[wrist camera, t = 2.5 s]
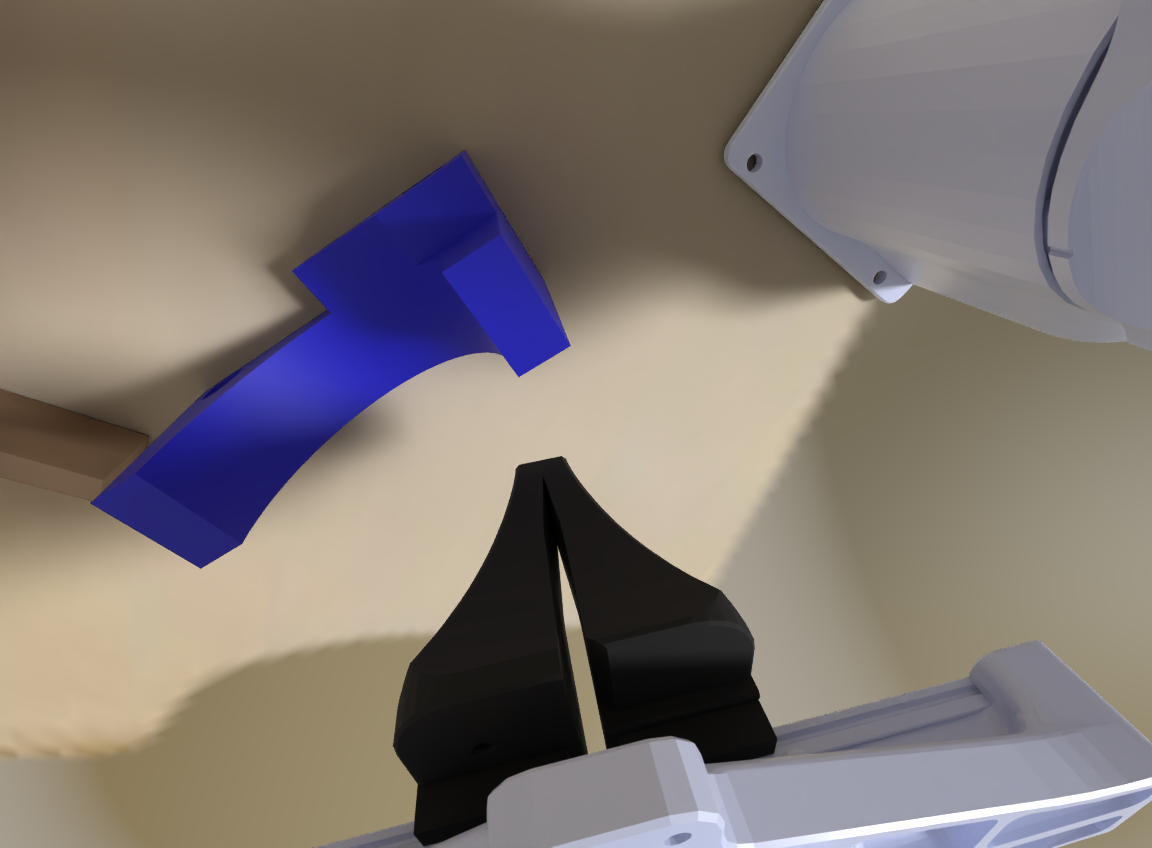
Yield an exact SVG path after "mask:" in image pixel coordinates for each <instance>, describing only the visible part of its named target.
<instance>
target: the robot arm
mask: <svg viewBox="0 0 1152 848" xmlns="http://www.w3.org/2000/svg"><path fill="white" fill-rule="evenodd" d="M753 154H755V156H756V165H755V167H754V168H753V169H752V170H751V171H748V169H747V161H748V159H749V157H750V156H751V155H753ZM724 161H725V164H726V165H727V167H728V168H729V169H730V170H731V171H733V172H734V173H735V174H736V175H737V176H738V177H739V178H741V179H742V180H743V181H744V182H745V183H746V184H747V185H749V186H750V187H751V188H752V189H753V190H754V191H755V192H757V193H758V194H759V195H760V196H761V197H762V198H763V199H765V200H766V201H767V202H768V203H769V204H770V205H771V206H773V207H774V208H775V209H776V210H777V211H778V212H779V213H780V214H782V215H783V216H784V217H785V218H786V219H787V220H788V221H790V222H791V223H792V224H793V225H794V226H795V227H796V228H798V229H799V230H800V231H801V232H802V233H803V234H804V235H806V236H807V237H808V238H809V239H810V240H811V241H812V242H814V243H815V244H816V245H817V246H818V247H819V248H820V249H822V250H823V251H824V252H825V253H826V254H827V255H828V256H830V257H831V258H832V259H833V260H834V261H835V262H836V263H838V264H839V265H840V266H841V267H842V268H843V269H844V270H846V271H847V272H848V273H849V274H850V275H851V276H852V277H854V278H855V279H856V280H857V281H858V282H859V283H860V284H862V285H863V286H864V287H865V288H866V289H867V290H868V291H870V292H871V293H872V294H873V295H874V296H875V297H876V298H878V299H879V300H881V301H883V302H886V303H893V302H895V301H897V300H898V299H899V298H901V297H902V296H903V294H904V293H905V292H906V291H907V290H908V289H909V288H910V287H911V286H912V285H913V284H915V285H917V286H920V287H923V288H926V289H928V290H931V291H933V292H936V293H939V294H942V295H944V296H947V297H950V298H952V299H955V300H958V301H960V302H963V303H966V304H968V305H971V306H974V307H977V308H979V309H982V310H985V311H987V312H990V313H993V314H995V315H998V316H1001V317H1004V318H1006V319H1009V320H1012V321H1014V322H1017V323H1020V324H1022V325H1025V326H1028V327H1030V328H1033V329H1036V330H1039V331H1041V332H1044V333H1047V334H1050V335H1053V336H1057V337H1061V338H1065V339H1070V340H1076V341H1086V342H1121V341H1127V342H1128V343H1130V344H1133V345H1136V346H1138V347H1142V348H1145V349H1147V350H1150V351H1152V0H824V1H823V2H822V4H821V5H820V7H819V8H818V10H817V11H816V13H815V14H814V16H813V17H812V19H811V20H810V22H809V23H808V25H807V26H806V28H805V29H804V30H803V32H802V33H801V35H800V36H799V38H798V39H797V41H796V42H795V44H794V45H793V47H792V48H791V50H790V51H789V53H788V54H787V56H786V57H785V59H784V60H783V62H782V63H781V65H780V66H779V68H778V69H777V71H776V72H775V73H774V75H773V76H772V78H771V79H770V81H769V82H768V84H767V85H766V87H765V88H764V90H763V91H762V93H761V94H760V96H759V97H758V99H757V100H756V102H755V103H754V105H753V106H752V108H751V109H750V111H749V112H748V114H747V115H746V117H745V118H744V119H743V121H742V122H741V124H740V125H739V127H738V128H737V130H736V131H735V133H734V134H733V136H732V137H731V139H730V140H729V142H728V143H727V146H726V148H725V150H724ZM879 271H880V272H879ZM878 272H879V276H878V277H877V279H875V280H874V276H875V275H876V274H877V273H878ZM873 280H874V281H873ZM557 545H558V547H557ZM558 549H559V552H560V555H561V559H562V562H563V565H564V569H565V572H566V575H567V579H568V582H569V585H570V588H571V592H572V595H573V598H574V602H575V605H576V608H577V611H578V615H579V619H580V623H581V627H582V632H583V637H584V642H585V646H586V651H587V656H588V661H589V666H590V671H591V676H592V680H593V685H594V690H595V695H596V700H597V705H598V709H599V715H600V720H601V724H602V729H603V734H604V739H605V744H606V750H603V751H599V752H595V753H591V754H588V751H587V746H586V741H585V736H584V730H583V725H582V719H581V714H580V708H579V703H578V697H577V692H576V686H575V681H574V675H573V670H572V664H571V659H570V654H569V648H568V642H567V637H566V631H565V624H564V616H563V605H562V593H561V581H560V570H559V558H558ZM754 649H755V648H754V638H753V637H752V635H751V632H750V630H749V628H748V627H747V625H746V623H745V622H744V620H743V619H742V617H741V616H740V614H739V613H738V612H737V610H736V609H735V607H734V606H733V605H732V603H731V602H730V601H729V600H728V599H727V597H726V596H725V595H724V594H723V592H722V591H721V590H719V589H717V588H715V587H713V586H711V585H709V584H707V583H705V582H703V581H700V580H698V579H696V578H694V577H692V576H690V575H689V574H687V573H685V572H684V571H682V570H680V569H678V568H677V567H675V566H673V565H672V564H670V563H669V562H667V561H666V560H664V559H663V558H661V557H660V556H658V555H657V554H655V553H654V552H652V551H651V550H649V549H648V548H647V547H645V546H644V545H643V544H641V543H640V542H639V541H637V540H636V539H635V538H634V537H632V536H631V535H630V534H629V533H628V532H626V531H625V530H624V529H623V528H622V527H621V526H620V525H619V524H617V523H616V522H615V521H614V520H613V519H612V518H611V517H610V516H609V515H608V514H607V513H606V512H605V511H604V510H603V509H602V508H601V507H600V505H599V504H598V503H597V502H596V501H595V500H594V499H593V498H592V496H591V495H590V494H589V493H588V492H587V490H586V489H585V488H584V487H583V485H582V484H581V483H580V481H579V480H578V479H577V477H576V476H575V474H574V473H573V471H572V470H571V468H570V466H569V464H568V463H567V460H566V459H565V458H564V457H562V456H560V457H555V458H550V459H545V460H541V461H536V462H531V463H526V464H521V465H519V466H518V467H517V468H516V472H515V479H514V484H513V489H512V492H511V496H510V500H509V503H508V506H507V509H506V512H505V515H504V518H503V521H502V523H501V526H500V528H499V530H498V533H497V535H496V538H495V540H494V542H493V545H492V547H491V549H490V551H489V553H488V555H487V557H486V559H485V561H484V563H483V565H482V567H481V568H480V570H479V572H478V574H477V575H476V577H475V579H474V580H473V582H472V584H471V585H470V587H469V589H468V590H467V592H466V593H465V595H464V596H463V598H462V599H461V601H460V602H459V604H458V605H457V606H456V608H455V609H454V610H453V612H452V613H451V615H450V616H449V617H448V619H447V620H446V621H445V623H444V624H443V626H442V627H441V628H440V629H439V631H438V632H437V633H436V634H435V635H434V637H433V638H432V639H431V640H430V641H429V642H428V644H427V645H426V646H425V647H424V648H423V649H422V651H421V652H420V653H419V654H418V655H417V656H416V657H415V659H414V660H413V661H412V662H411V663H410V665H409V668H408V671H407V674H406V677H405V681H404V684H403V688H402V692H401V696H400V699H399V704H398V710H397V718H396V726H395V734H394V743H393V747H394V749H395V752H396V754H397V756H398V757H399V759H400V760H401V762H402V763H403V764H404V766H405V767H406V768H407V770H408V771H409V773H410V774H411V775H412V777H413V778H414V779H415V781H416V782H417V784H418V788H417V800H416V811H415V821H414V822H410V823H406V824H402V825H398V826H394V827H391V828H387V829H383V830H379V831H375V832H372V833H367V834H364V835H360V836H356V837H352V838H348V839H345V840H341V841H337V842H333V843H329V844H325V845H321V846H318V847H314V848H1058V847H1060V846H1063V845H1067V844H1070V843H1073V842H1076V841H1080V840H1083V839H1086V838H1090V837H1093V836H1096V835H1099V834H1102V833H1106V832H1109V831H1111V830H1113V829H1114V828H1115V827H1117V826H1118V825H1119V824H1121V823H1122V822H1123V821H1125V820H1126V819H1127V818H1129V817H1130V816H1131V815H1133V814H1134V813H1135V812H1137V811H1138V810H1139V809H1141V808H1142V807H1143V806H1145V805H1146V804H1147V803H1149V802H1150V801H1151V800H1152V743H1151V742H1150V741H1149V740H1148V739H1147V738H1146V737H1145V736H1144V735H1143V734H1141V733H1140V732H1139V731H1138V730H1137V729H1136V728H1135V727H1134V726H1133V725H1132V724H1131V723H1129V722H1128V721H1127V720H1126V719H1125V718H1124V717H1123V716H1122V715H1121V714H1120V713H1119V712H1117V711H1116V710H1115V709H1114V708H1113V707H1112V706H1111V705H1110V704H1109V703H1108V702H1107V701H1105V700H1104V699H1103V698H1102V697H1101V696H1100V695H1099V694H1098V693H1097V692H1095V691H1094V690H1093V689H1092V688H1091V687H1090V686H1089V685H1088V684H1087V683H1086V682H1085V681H1084V680H1083V679H1081V678H1080V677H1079V676H1078V675H1077V674H1076V673H1075V672H1074V671H1073V670H1072V669H1070V668H1069V667H1068V666H1067V665H1066V664H1065V663H1064V662H1063V661H1062V660H1061V659H1060V658H1059V657H1057V656H1056V655H1055V654H1054V653H1053V652H1052V651H1051V650H1050V649H1049V648H1048V647H1047V646H1045V645H1044V644H1043V643H1042V642H1041V641H1036V640H1034V641H1030V642H1026V643H1022V644H1018V645H1014V646H1011V647H1006V648H1003V649H999V650H995V651H992V652H989V653H987V654H985V655H983V656H982V657H980V658H978V659H977V660H976V662H975V663H974V664H973V666H972V668H971V670H970V672H969V677H966V678H962V679H958V680H954V681H951V682H947V683H943V684H939V685H936V686H931V687H927V688H924V689H920V690H916V691H913V692H908V693H904V694H901V695H897V696H893V697H889V698H885V699H881V700H878V701H874V702H870V703H866V704H862V705H859V706H855V707H851V708H847V709H843V710H840V711H835V712H832V713H828V714H824V715H820V716H816V717H812V718H809V719H805V720H801V721H797V722H794V723H789V724H786V725H782V726H778V727H774V728H772V727H771V724H770V722H769V720H768V718H767V716H766V714H765V712H764V710H763V708H762V706H761V704H760V702H759V700H758V699H759V698H760V694H759V690H758V688H757V686H756V684H755V682H754V680H753V678H752V676H751V670H752V663H753V656H754Z"/></svg>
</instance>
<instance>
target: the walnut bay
mask: <svg viewBox="0 0 1152 848" xmlns="http://www.w3.org/2000/svg"><path fill="white" fill-rule="evenodd" d="M148 439H149V436H146V435H143V434H140V433H137V432H134V431H131V430H128V429H124V428H121V427H118V426H115V425H112V424H109V423H105V422H102V421H99V420H96V419H93V418H90V417H87V416H83V415H80V414H77V413H74V412H71V411H68V410H64V409H61V408H58V407H55V406H52V405H49V404H46V403H42V402H39V401H36V400H33V399H30V398H27V397H23V396H20V395H17V394H14V393H11V392H8V391H5V390H1V389H0V477H1V478H5V479H9V480H13V481H17V482H21V483H25V484H28V485H32V486H36V487H40V488H44V489H48V490H52V491H55V492H59V493H63V494H67V495H71V496H75V497H78V498H82V499H86V500H90V501H93V500H94V499H95V498H96V497H97V496H98V495H99V494H100V493H101V492H102V491H103V490H104V489H105V488H106V487H107V486H108V485H110V484H111V483H112V482H113V481H114V480H115V479H116V478H117V477H118V476H119V475H120V474H121V473H122V472H123V471H124V470H125V469H126V468H127V467H128V466H129V465H130V464H131V463H132V462H133V461H134V460H135V459H136V458H137V457H138V456H139V455H140V454H141V453H142V452H144V451H145V450H146V446H147V443H148Z"/></svg>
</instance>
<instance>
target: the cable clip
mask: <svg viewBox="0 0 1152 848" xmlns="http://www.w3.org/2000/svg"><path fill="white" fill-rule="evenodd" d="M292 272H293V273H294V274H295V275H296V276H297V277H298V278H299V279H300V280H301V281H302V282H303V284H304V285H305V286H306V287H307V288H308V289H309V290H310V291H311V292H312V293H313V294H314V295H315V296H316V298H317V299H318V300H319V301H320V302H321V303H322V304H323V305H324V306H325V307H326V308H327V309H328V310H326V311H325V312H323V313H322V314H320V315H319V316H317V317H316V318H314V319H313V320H311V321H310V322H308V323H307V324H305V325H304V326H302V327H301V328H299V329H298V330H297V331H295V332H294V333H292V334H291V335H289V336H288V337H286V338H285V339H283V340H282V341H280V342H279V343H277V344H276V345H274V346H273V347H271V348H270V349H268V350H267V351H265V352H264V353H262V354H261V355H259V356H258V357H256V358H255V359H253V360H252V361H250V362H249V363H247V364H246V365H244V366H243V367H241V368H240V369H238V370H237V371H235V372H234V373H232V374H231V375H229V376H228V377H226V378H225V379H223V380H222V381H220V382H219V383H217V384H216V385H214V386H213V387H211V388H210V389H208V390H207V391H205V392H204V393H203V394H202V395H201V396H200V397H199V398H198V399H197V400H196V401H195V402H194V403H193V404H192V405H191V406H190V407H189V408H188V409H187V410H186V411H185V412H184V413H183V414H182V415H181V416H180V417H179V418H178V419H176V420H175V421H174V422H173V423H172V424H171V425H170V426H169V427H168V428H167V429H166V430H165V431H164V432H163V433H162V434H161V435H160V436H159V437H158V438H157V439H156V440H155V441H154V442H153V443H152V444H151V445H150V446H149V447H148V448H147V449H146V450H145V451H144V452H142V453H141V454H140V455H139V456H138V457H137V458H136V459H135V460H134V461H133V462H132V463H131V464H130V465H129V466H128V467H127V468H126V469H125V470H124V471H123V472H122V473H121V474H120V475H119V476H118V477H117V478H116V479H115V480H114V481H113V482H112V483H111V484H110V485H108V486H107V487H106V488H105V489H104V490H103V491H102V492H101V493H100V494H99V495H98V496H97V497H96V498H95V499H94V500H93V501H92V502H91V503H90V504H92V505H94V506H96V507H97V508H99V509H101V510H102V511H104V512H106V513H107V514H109V515H111V516H113V517H114V518H116V519H118V520H119V521H121V522H123V523H124V524H126V525H128V526H129V527H131V528H133V529H135V530H136V531H138V532H140V533H141V534H143V535H145V536H146V537H148V538H150V539H151V540H153V541H155V542H157V543H158V544H160V545H162V546H163V547H165V548H167V549H168V550H170V551H172V552H173V553H175V554H177V555H179V556H180V557H182V558H184V559H185V560H187V561H189V562H190V563H192V564H194V565H195V566H197V567H199V568H203V567H204V566H206V565H208V564H209V563H211V562H213V561H214V560H216V559H218V558H219V557H221V556H223V555H224V554H226V553H228V552H229V551H231V550H233V549H234V548H236V547H238V546H239V545H241V544H242V543H243V541H244V540H245V538H246V536H247V535H248V533H249V531H250V530H251V528H252V527H253V525H254V524H255V522H256V521H257V519H258V518H259V517H260V515H261V514H262V512H263V511H264V510H265V508H266V507H267V506H268V504H269V503H270V502H271V501H272V499H273V498H274V497H275V496H276V494H277V493H278V492H279V491H280V489H281V488H282V487H283V486H284V485H285V484H286V482H287V481H288V480H289V479H290V478H291V477H292V476H293V475H294V473H295V472H296V471H297V470H298V469H299V468H300V467H301V466H302V465H303V464H304V463H305V462H306V461H307V460H308V459H309V458H310V457H311V456H312V455H313V454H314V453H315V452H316V451H317V450H318V449H319V448H320V447H321V446H322V445H323V444H324V443H325V442H326V441H327V440H328V439H330V438H331V437H332V436H333V435H334V434H335V433H336V432H337V431H339V430H340V429H341V428H342V427H343V426H344V425H345V424H347V423H348V422H349V421H350V420H352V419H353V418H354V417H355V416H356V415H358V414H359V413H360V412H362V411H363V410H364V409H366V408H367V407H368V406H369V405H371V404H372V403H374V402H375V401H376V400H378V399H379V398H381V397H382V396H384V395H385V394H386V393H388V392H389V391H391V390H392V389H394V388H396V387H397V386H399V385H400V384H402V383H404V382H405V381H407V380H409V379H411V378H412V377H414V376H416V375H418V374H420V373H421V372H423V371H425V370H427V369H429V368H432V367H434V366H436V365H438V364H441V363H443V362H446V361H448V360H451V359H454V358H457V357H460V356H464V355H468V354H474V353H483V352H489V353H496V354H500V355H503V356H504V358H505V359H506V361H507V362H508V363H509V365H510V366H511V367H512V369H513V370H514V371H515V373H516V374H517V376H518V377H520V376H521V375H523V374H525V373H526V372H528V371H530V370H531V369H533V368H535V367H536V366H538V365H540V364H541V363H543V362H545V361H546V360H548V359H550V358H551V357H553V356H555V355H556V354H558V353H560V352H561V351H563V350H565V349H566V348H568V347H570V343H569V341H568V338H567V336H566V333H565V331H564V328H563V326H562V323H561V321H560V318H559V316H558V313H557V311H556V308H555V306H554V303H553V301H552V298H551V296H550V294H549V291H548V289H547V286H546V284H545V281H544V279H543V278H542V276H541V274H540V273H539V271H538V269H537V268H536V266H535V264H534V263H533V261H532V260H531V258H530V256H529V255H528V253H527V251H526V250H525V248H524V246H523V245H522V243H521V242H520V240H519V238H518V237H517V235H516V233H515V232H514V230H513V228H512V227H511V225H510V223H509V222H508V220H507V219H506V217H505V215H504V214H503V212H502V210H501V209H500V207H499V205H498V204H497V202H496V201H495V199H494V197H493V196H492V194H491V192H490V191H489V189H488V187H487V186H486V184H485V182H484V181H483V179H482V178H481V176H480V174H479V173H478V171H477V169H476V168H475V166H474V164H473V163H472V161H471V160H470V158H469V156H468V155H467V153H466V151H465V150H464V151H463V152H461V153H460V154H458V155H457V156H456V157H454V158H453V159H451V160H450V161H448V162H447V163H445V164H444V165H443V166H441V167H440V168H438V169H437V170H435V171H434V172H432V173H431V174H430V175H428V176H427V177H425V178H424V179H422V180H421V181H419V182H418V183H417V184H415V185H414V186H412V187H411V188H409V189H408V190H406V191H405V192H404V193H402V194H401V195H399V196H398V197H396V198H395V199H394V200H392V201H391V202H389V203H388V204H386V205H385V206H383V207H382V208H381V209H379V210H378V211H376V212H375V213H373V214H372V215H370V216H369V217H368V218H366V219H365V220H363V221H362V222H360V223H359V224H357V225H356V226H355V227H353V228H352V229H350V230H349V231H347V232H346V233H345V234H343V235H342V236H340V237H339V238H337V239H336V240H334V241H333V242H332V243H330V244H329V245H327V246H326V247H324V248H323V249H321V250H320V251H319V252H317V253H316V254H314V255H313V256H311V257H310V258H308V259H307V260H306V261H304V262H303V263H302V264H301V265H299V266H298V267H297V268H295V269H294V270H293V271H292Z"/></svg>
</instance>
